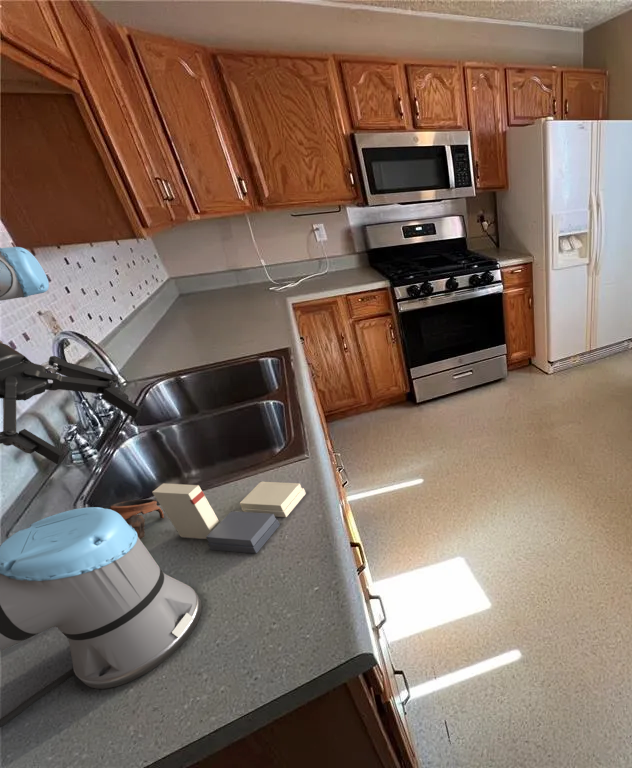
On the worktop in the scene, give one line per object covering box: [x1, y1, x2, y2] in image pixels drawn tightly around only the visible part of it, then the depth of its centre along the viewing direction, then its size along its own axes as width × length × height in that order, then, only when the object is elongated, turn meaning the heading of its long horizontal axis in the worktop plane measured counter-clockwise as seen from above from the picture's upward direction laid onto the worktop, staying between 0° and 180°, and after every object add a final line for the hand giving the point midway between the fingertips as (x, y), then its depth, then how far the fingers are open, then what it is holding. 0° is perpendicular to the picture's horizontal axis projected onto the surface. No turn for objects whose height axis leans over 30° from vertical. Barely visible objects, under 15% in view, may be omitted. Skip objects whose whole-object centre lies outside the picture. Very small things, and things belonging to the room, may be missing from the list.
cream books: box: [239, 481, 307, 518], centre depth 89 cm, size 7×10×3 cm
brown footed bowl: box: [109, 498, 165, 540], centre depth 84 cm, size 12×10×8 cm
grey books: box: [206, 510, 281, 554], centre depth 81 cm, size 7×10×3 cm
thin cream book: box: [152, 482, 221, 540], centre depth 80 cm, size 2×8×12 cm, turn 81°
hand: (102, 434), depth 74 cm, fingers open, 13 cm apart
